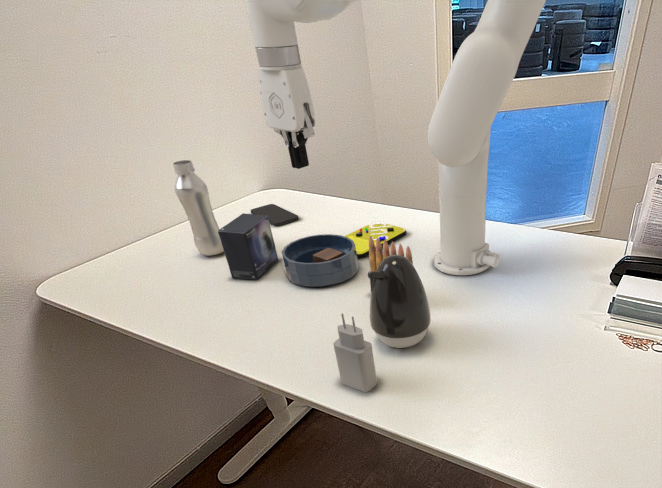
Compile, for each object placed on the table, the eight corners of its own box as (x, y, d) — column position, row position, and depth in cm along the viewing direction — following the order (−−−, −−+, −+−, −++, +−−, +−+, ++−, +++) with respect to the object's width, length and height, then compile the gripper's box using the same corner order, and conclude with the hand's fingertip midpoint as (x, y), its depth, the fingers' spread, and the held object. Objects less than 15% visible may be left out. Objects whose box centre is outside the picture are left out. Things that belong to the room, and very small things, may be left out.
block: (346, 272, 103) (343, 252, 100) (331, 280, 100) (327, 260, 97) (332, 267, 105) (328, 247, 102) (316, 274, 102) (312, 254, 99)
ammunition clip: (371, 295, 96) (363, 236, 88) (377, 291, 97) (369, 233, 89) (413, 309, 91) (409, 249, 83) (419, 305, 92) (415, 245, 84)
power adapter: (351, 371, 77) (339, 305, 69) (379, 381, 74) (369, 314, 67) (339, 382, 75) (325, 315, 67) (367, 393, 72) (355, 325, 65)
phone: (275, 223, 125) (248, 210, 133) (276, 227, 125) (249, 213, 134) (300, 216, 129) (272, 203, 137) (300, 219, 129) (273, 206, 138)
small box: (258, 281, 102) (244, 232, 95) (231, 279, 103) (215, 231, 96) (280, 260, 110) (269, 213, 103) (254, 258, 111) (241, 212, 104)
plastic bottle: (229, 255, 112) (199, 164, 99) (199, 261, 111) (164, 168, 98) (228, 245, 117) (199, 156, 104) (198, 250, 115) (165, 160, 102)
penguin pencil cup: (360, 340, 83) (346, 257, 73) (404, 317, 89) (397, 237, 79) (398, 364, 78) (389, 278, 68) (443, 338, 83) (441, 254, 73)
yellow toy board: (362, 260, 108) (361, 253, 107) (326, 250, 113) (325, 244, 112) (409, 233, 120) (408, 227, 119) (374, 225, 124) (374, 219, 123)
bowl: (372, 267, 105) (369, 243, 102) (322, 296, 96) (317, 270, 93) (324, 252, 112) (320, 229, 109) (273, 277, 103) (266, 253, 100)
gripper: (236, 59, 88) (263, 166, 100) (290, 62, 81) (312, 176, 93) (269, 55, 93) (290, 157, 105) (322, 57, 86) (339, 167, 98)
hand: (300, 166), depth 99 cm, fingers closed
